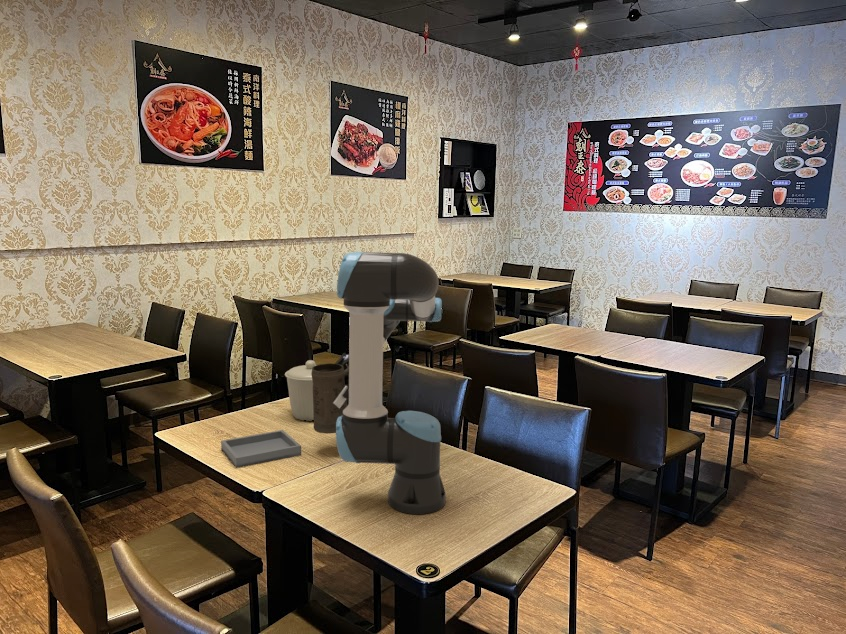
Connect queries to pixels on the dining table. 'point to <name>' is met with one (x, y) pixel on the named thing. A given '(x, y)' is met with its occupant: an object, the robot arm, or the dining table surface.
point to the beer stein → (327, 395)
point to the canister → (301, 391)
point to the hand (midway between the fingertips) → (326, 401)
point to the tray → (260, 448)
